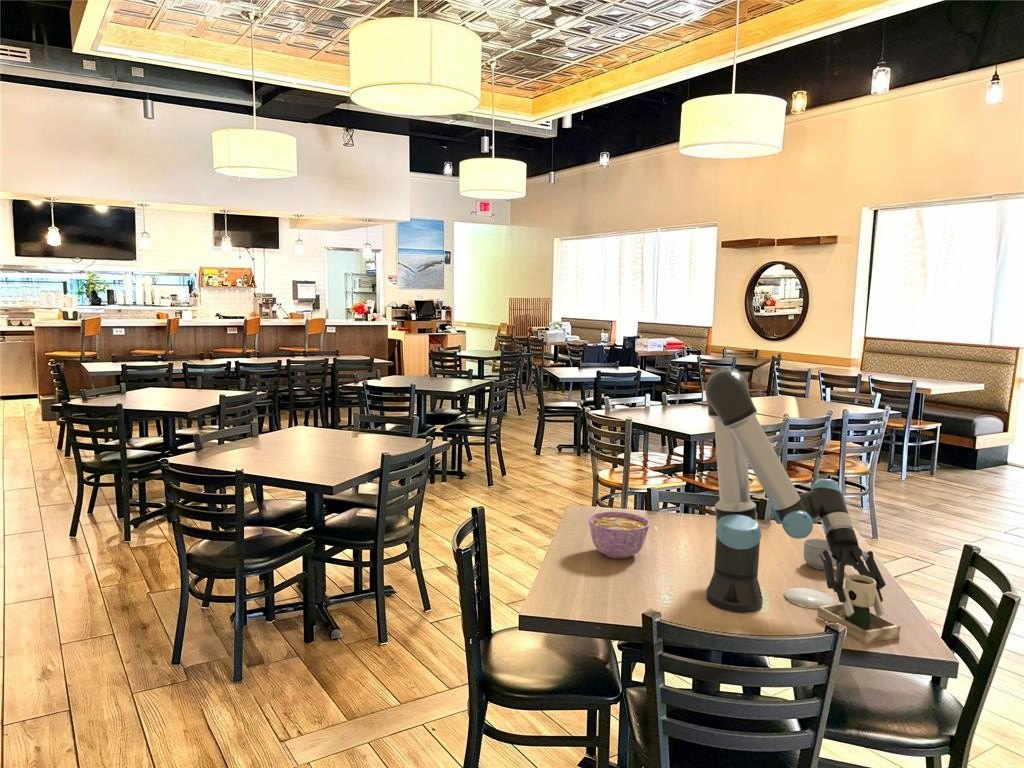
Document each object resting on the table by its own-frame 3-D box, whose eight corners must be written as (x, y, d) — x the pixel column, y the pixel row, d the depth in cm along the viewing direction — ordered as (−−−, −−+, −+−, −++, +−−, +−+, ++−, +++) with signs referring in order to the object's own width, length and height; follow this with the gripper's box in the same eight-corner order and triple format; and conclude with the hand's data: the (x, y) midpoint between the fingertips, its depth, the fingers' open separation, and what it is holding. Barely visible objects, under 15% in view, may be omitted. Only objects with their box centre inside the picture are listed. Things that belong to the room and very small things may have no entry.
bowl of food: (660, 561, 228) (661, 526, 226) (605, 568, 220) (607, 532, 219) (627, 541, 246) (629, 509, 245) (576, 547, 239) (577, 514, 237)
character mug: (833, 617, 189) (837, 570, 188) (860, 618, 189) (864, 571, 188) (853, 636, 179) (857, 587, 177) (881, 637, 179) (885, 588, 177)
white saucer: (807, 611, 193) (807, 609, 193) (774, 592, 205) (774, 590, 205) (844, 605, 197) (844, 603, 197) (809, 587, 209) (809, 585, 209)
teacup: (800, 568, 225) (802, 544, 224) (803, 558, 234) (805, 534, 233) (848, 577, 218) (850, 552, 217) (850, 566, 228) (852, 542, 227)
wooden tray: (864, 644, 175) (865, 632, 174) (817, 617, 189) (817, 606, 189) (899, 637, 179) (900, 626, 178) (850, 611, 193) (850, 601, 193)
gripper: (869, 539, 197) (897, 620, 183) (798, 538, 197) (821, 619, 183) (881, 526, 192) (911, 609, 177) (808, 525, 191) (832, 608, 177)
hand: (865, 614), depth 180 cm, fingers closed on character mug, 7 cm apart
